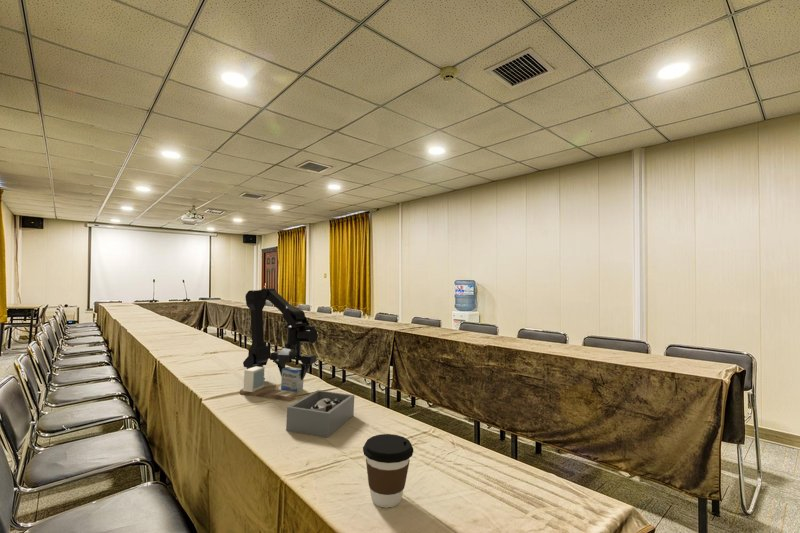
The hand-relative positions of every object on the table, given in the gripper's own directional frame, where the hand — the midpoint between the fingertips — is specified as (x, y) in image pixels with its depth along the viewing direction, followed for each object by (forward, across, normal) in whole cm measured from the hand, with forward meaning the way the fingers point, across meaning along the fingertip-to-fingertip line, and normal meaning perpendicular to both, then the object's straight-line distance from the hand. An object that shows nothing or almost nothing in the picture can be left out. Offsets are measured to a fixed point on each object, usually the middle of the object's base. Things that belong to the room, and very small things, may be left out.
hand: (292, 378), depth 157 cm
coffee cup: (+5, +61, -60) cm, 86 cm away
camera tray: (+4, +28, -27) cm, 39 cm away
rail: (+4, -4, -10) cm, 12 cm away
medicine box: (+5, 0, 0) cm, 5 cm away
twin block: (+3, -11, -10) cm, 15 cm away
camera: (+5, +29, -27) cm, 40 cm away
